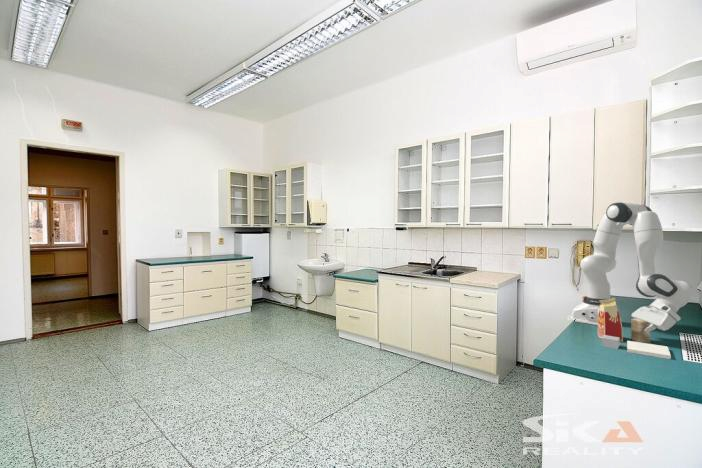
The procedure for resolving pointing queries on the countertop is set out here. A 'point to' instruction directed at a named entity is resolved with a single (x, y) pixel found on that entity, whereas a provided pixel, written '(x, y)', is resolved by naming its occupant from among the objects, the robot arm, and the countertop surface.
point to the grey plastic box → (610, 341)
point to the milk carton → (609, 319)
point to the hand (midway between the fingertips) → (639, 329)
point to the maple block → (639, 331)
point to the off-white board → (648, 349)
